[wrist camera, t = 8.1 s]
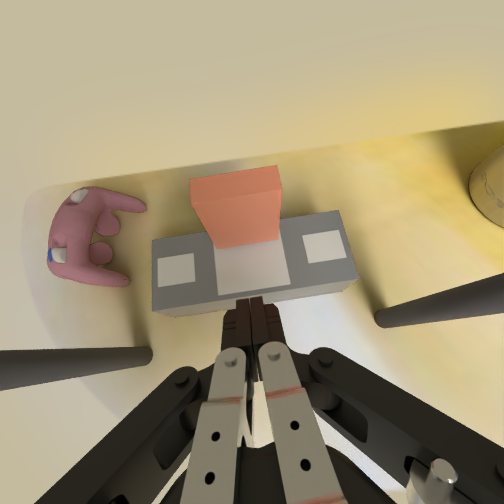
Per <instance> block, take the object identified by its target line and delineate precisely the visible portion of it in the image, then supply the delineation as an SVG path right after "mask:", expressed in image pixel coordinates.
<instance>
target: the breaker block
mask: <svg viewBox="0 0 504 504" xmlns="http://www.w3.org/2000/svg"><path fill="white" fill-rule="evenodd" d="M358 279H360V278H359V275H358V272H357V268H356V265H355V262H354V259H353V255H352V252H351V249H350V245H349V242H348V239H347V236H346V232H345V229H344V226H343V222H342V219H341V216H340V213H339V210H335V211H329V212H322V213H316V214H310V215H304V216H298V217H291V218H285V219H280V224H279V237H278V240H272V241H266V242H259V243H253V244H247V245H241V246H234V247H228V248H222V249H216V247H215V245H214V243H213V242H212V240H211V238H210V236H209V235H208V233H207V231H205V232H198V233H192V234H186V235H180V236H174V237H167V238H161V239H155V240H152V311H153V312H157V313H160V314H164V315H168V316H171V317H175V318H176V317H182V316H188V315H195V314H201V313H207V312H214V311H220V310H227V309H233V308H236V300H238V299H244V298H249V301H250V298H251V297H258V296H262V297H263V304H265V303H271V302H278V301H284V300H291V299H297V298H303V297H310V296H316V295H322V294H329V293H335V292H342V291H343V290H345V289H346V288H347V287H349V286H350V285H351V284H353V283H354V282H356V281H357V280H358Z"/></svg>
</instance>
